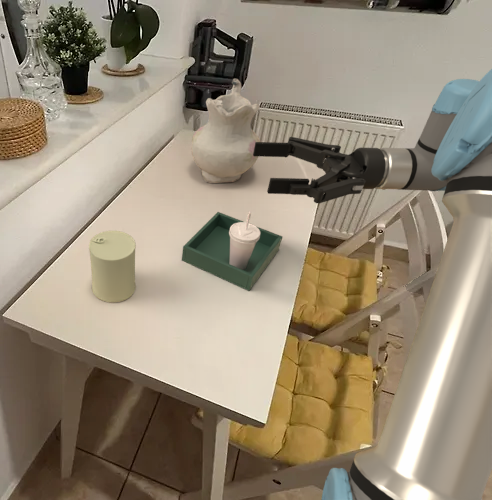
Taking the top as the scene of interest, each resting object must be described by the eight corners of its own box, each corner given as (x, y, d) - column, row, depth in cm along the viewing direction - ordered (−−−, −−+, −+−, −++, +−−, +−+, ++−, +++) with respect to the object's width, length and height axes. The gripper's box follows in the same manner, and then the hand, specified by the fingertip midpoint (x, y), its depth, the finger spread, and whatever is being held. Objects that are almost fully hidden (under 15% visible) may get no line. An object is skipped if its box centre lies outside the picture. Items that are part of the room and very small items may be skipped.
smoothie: (256, 262, 96) (269, 211, 87) (245, 279, 92) (258, 227, 83) (230, 252, 99) (239, 201, 90) (218, 268, 95) (227, 216, 86)
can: (102, 267, 95) (100, 224, 87) (141, 277, 93) (142, 234, 85) (84, 295, 88) (80, 251, 81) (126, 307, 86) (125, 263, 78)
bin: (278, 250, 101) (282, 236, 98) (249, 291, 90) (252, 277, 87) (215, 224, 108) (217, 211, 105) (181, 260, 97) (182, 246, 95)
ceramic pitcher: (189, 156, 137) (189, 77, 121) (250, 154, 136) (259, 73, 120) (192, 193, 121) (193, 107, 105) (262, 191, 120) (274, 103, 103)
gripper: (398, 225, 72) (271, 222, 72) (346, 155, 91) (246, 153, 91) (417, 187, 67) (281, 184, 67) (358, 121, 86) (252, 119, 86)
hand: (261, 166), depth 79 cm, fingers open, 13 cm apart
